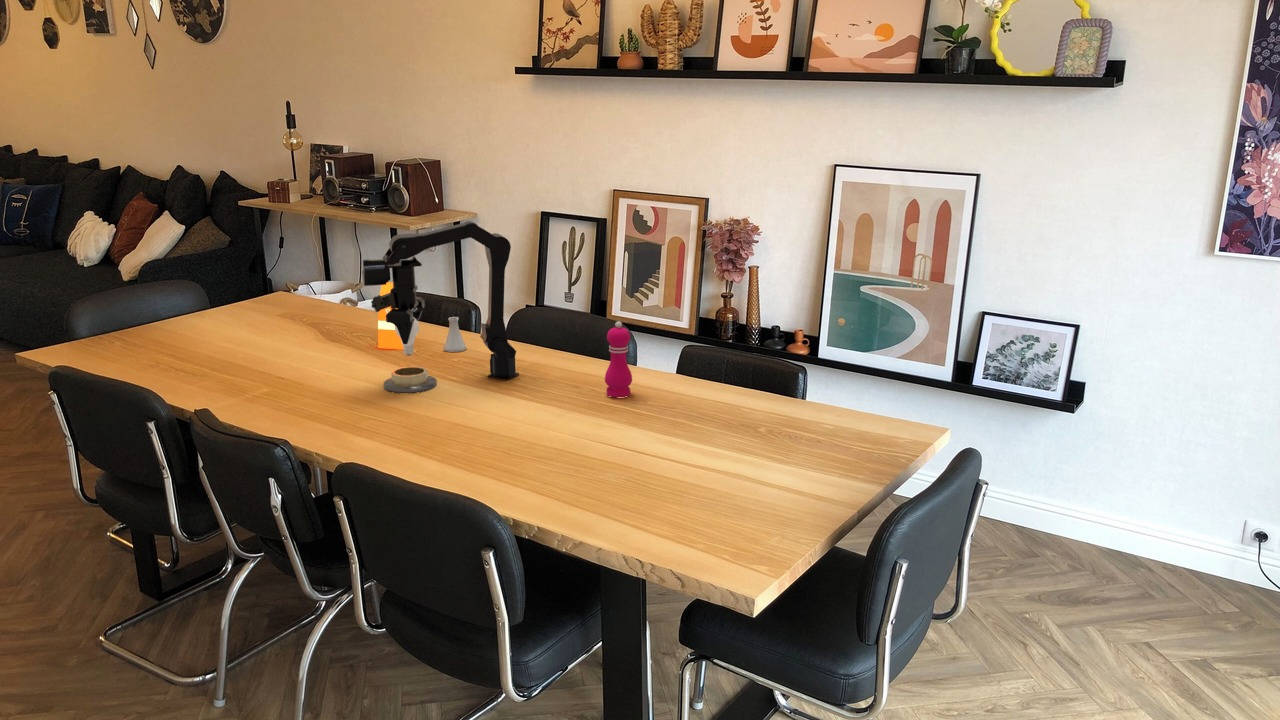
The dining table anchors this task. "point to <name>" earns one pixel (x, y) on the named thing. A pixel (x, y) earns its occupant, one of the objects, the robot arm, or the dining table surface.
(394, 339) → the orange juice
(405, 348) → the lightbulb
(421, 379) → the holder
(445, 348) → the flask
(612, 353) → the pepper mill
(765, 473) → the dining table surface
